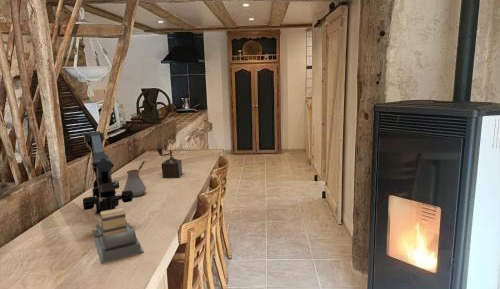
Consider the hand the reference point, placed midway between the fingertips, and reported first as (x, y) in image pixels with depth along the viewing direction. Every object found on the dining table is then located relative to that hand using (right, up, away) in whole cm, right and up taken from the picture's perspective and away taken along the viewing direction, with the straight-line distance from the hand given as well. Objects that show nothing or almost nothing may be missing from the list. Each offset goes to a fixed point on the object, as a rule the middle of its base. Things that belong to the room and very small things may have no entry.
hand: (112, 218), depth 139 cm
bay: (+3, -8, -5) cm, 10 cm away
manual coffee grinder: (+3, +9, +84) cm, 84 cm away
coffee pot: (-6, +3, +55) cm, 55 cm away
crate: (+2, -7, -2) cm, 7 cm away
